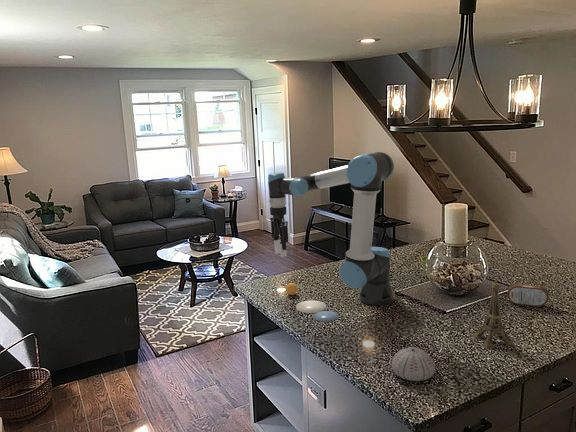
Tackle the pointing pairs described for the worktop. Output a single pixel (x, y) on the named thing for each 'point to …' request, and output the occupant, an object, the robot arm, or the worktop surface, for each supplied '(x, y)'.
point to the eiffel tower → (493, 322)
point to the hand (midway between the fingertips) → (280, 254)
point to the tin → (528, 295)
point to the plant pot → (424, 263)
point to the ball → (291, 288)
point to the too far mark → (326, 316)
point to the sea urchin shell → (413, 364)
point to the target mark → (310, 306)
